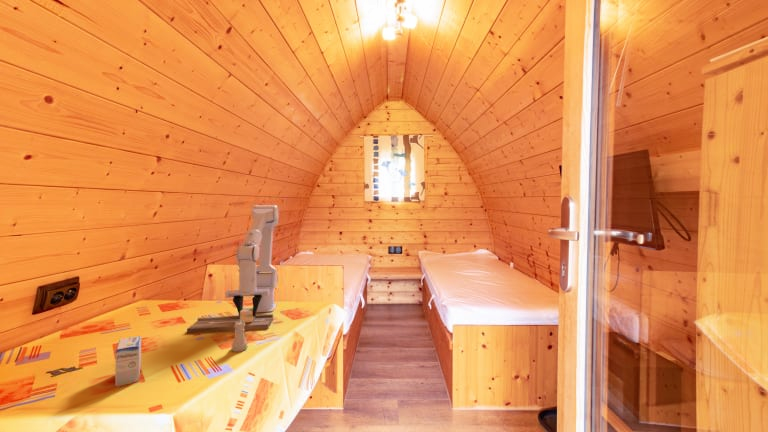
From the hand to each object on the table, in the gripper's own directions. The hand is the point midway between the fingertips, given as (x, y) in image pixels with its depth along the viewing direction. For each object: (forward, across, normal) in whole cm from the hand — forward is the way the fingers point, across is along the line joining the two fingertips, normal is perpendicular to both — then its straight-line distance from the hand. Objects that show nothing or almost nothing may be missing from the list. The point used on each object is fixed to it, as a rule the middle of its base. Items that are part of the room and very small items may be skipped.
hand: (247, 316), depth 114 cm
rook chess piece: (+3, +3, -21) cm, 22 cm away
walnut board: (+3, -5, 0) cm, 6 cm away
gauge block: (+1, 0, 0) cm, 1 cm away
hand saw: (+4, -31, -23) cm, 38 cm away
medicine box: (+3, -19, -34) cm, 39 cm away
